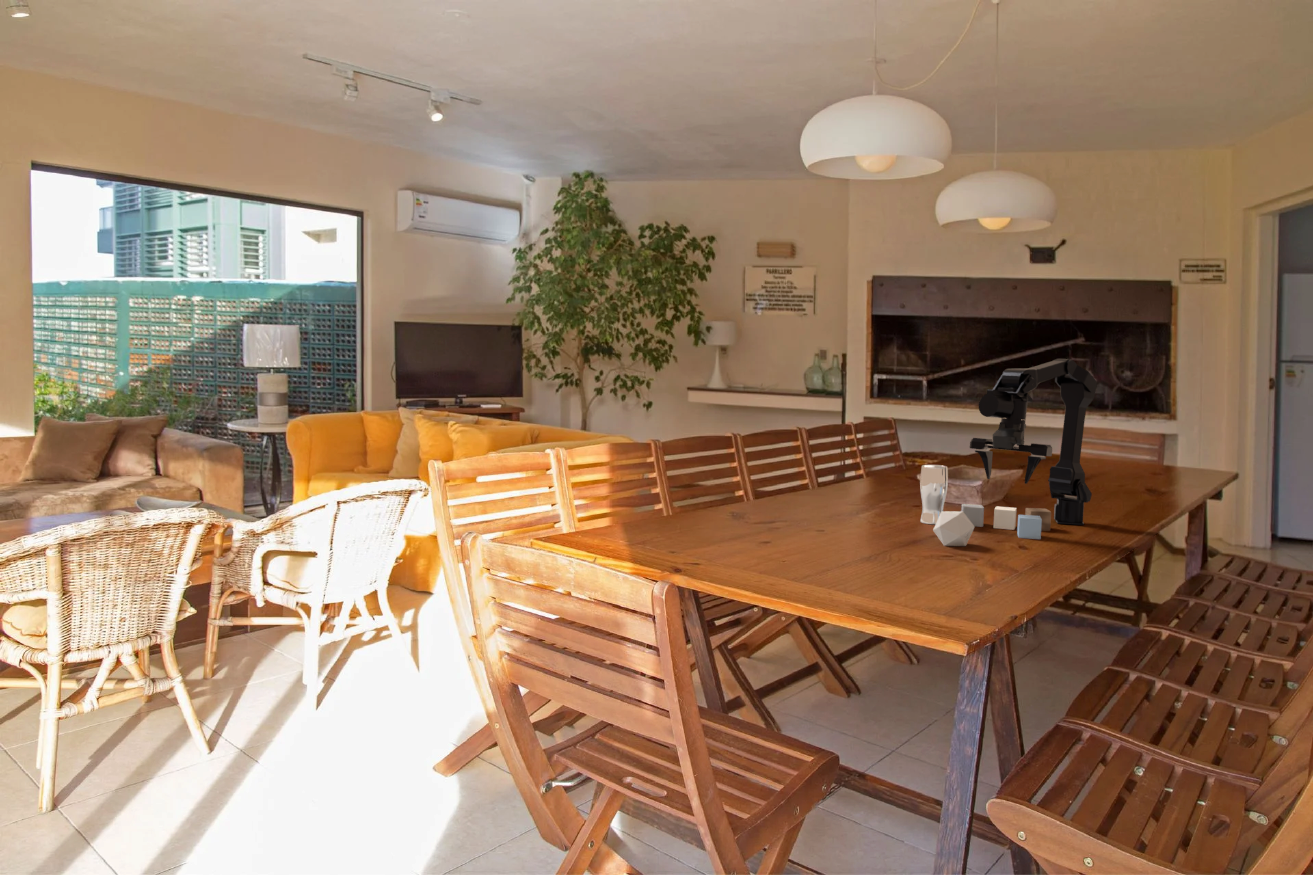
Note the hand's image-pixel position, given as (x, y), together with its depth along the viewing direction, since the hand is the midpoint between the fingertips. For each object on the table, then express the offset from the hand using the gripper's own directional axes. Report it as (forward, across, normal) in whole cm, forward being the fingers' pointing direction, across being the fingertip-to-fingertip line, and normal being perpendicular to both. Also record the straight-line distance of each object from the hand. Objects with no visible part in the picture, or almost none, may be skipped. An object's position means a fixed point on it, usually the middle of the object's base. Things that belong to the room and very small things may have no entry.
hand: (1007, 481), depth 237 cm
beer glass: (+14, -19, +2) cm, 23 cm away
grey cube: (+13, -10, +6) cm, 17 cm away
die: (+15, -4, -23) cm, 28 cm away
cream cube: (+12, -2, +8) cm, 15 cm away
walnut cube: (+12, +6, +12) cm, 18 cm away
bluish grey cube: (+13, +7, -1) cm, 15 cm away
